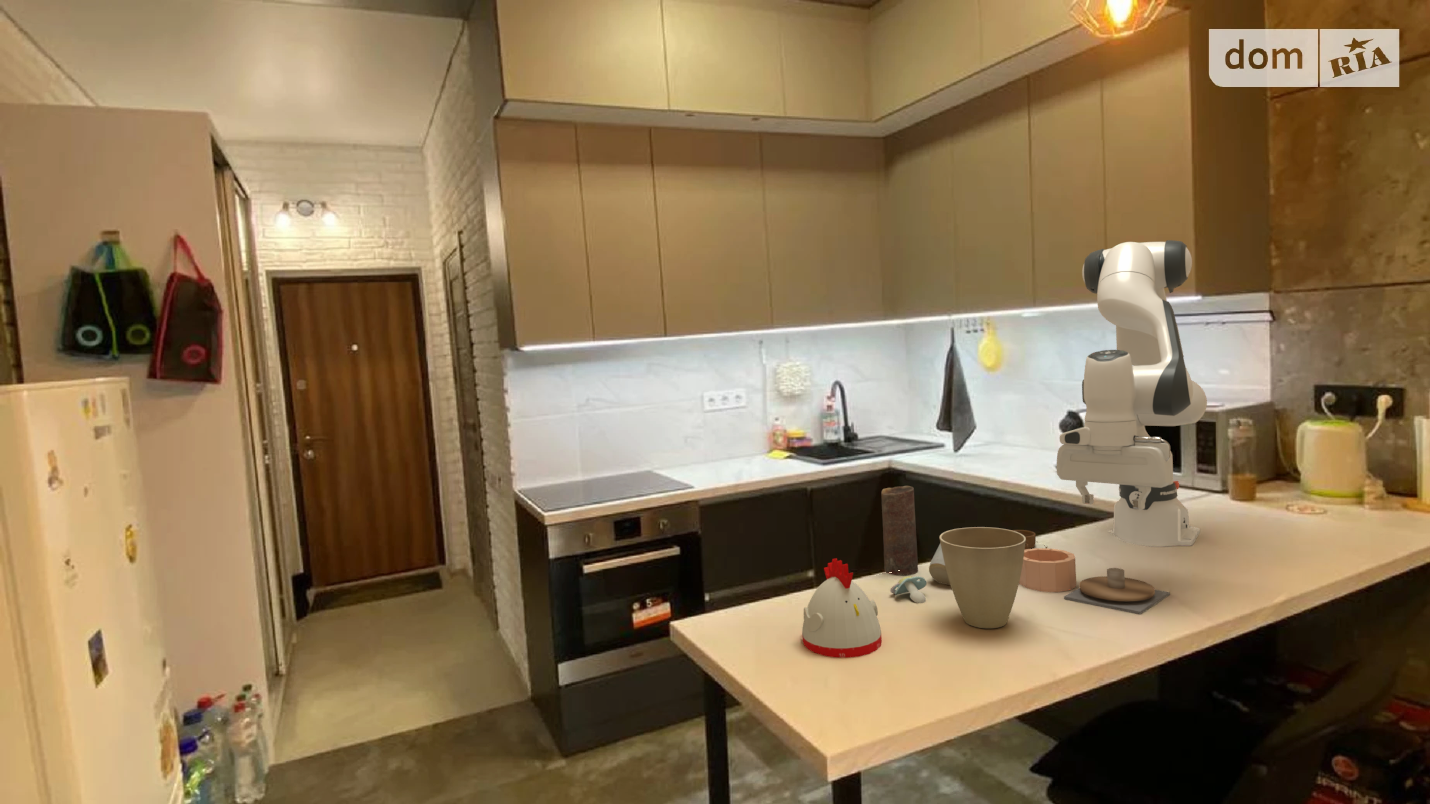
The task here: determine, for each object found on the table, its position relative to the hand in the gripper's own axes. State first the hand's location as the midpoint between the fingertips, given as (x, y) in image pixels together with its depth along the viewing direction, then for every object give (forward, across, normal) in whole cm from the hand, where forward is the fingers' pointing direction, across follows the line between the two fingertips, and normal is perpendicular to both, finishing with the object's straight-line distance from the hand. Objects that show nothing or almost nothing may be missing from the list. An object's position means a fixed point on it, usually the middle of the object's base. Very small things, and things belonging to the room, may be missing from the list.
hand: (1112, 506), depth 149 cm
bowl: (+18, +14, 0) cm, 23 cm away
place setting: (+18, +30, -16) cm, 39 cm away
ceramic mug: (+18, +27, +12) cm, 35 cm away
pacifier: (+19, +32, +25) cm, 44 cm away
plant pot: (+18, +12, +27) cm, 34 cm away
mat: (+18, 0, 0) cm, 18 cm away
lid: (+17, 0, 0) cm, 17 cm away
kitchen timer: (+19, +26, +51) cm, 60 cm away
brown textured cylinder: (+18, +41, +13) cm, 47 cm away
